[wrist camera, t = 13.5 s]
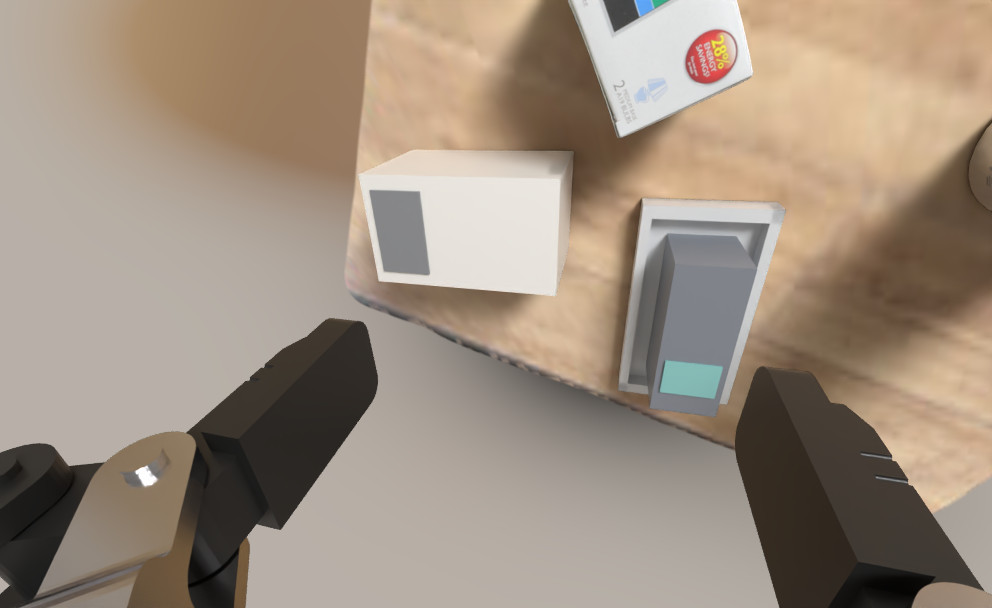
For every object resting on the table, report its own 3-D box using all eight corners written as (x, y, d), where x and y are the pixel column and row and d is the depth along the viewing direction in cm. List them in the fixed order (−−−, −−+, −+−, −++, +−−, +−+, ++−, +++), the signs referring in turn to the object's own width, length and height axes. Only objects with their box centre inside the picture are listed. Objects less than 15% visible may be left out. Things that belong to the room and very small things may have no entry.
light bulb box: (558, -40, 28) (529, -86, 19) (664, -114, 25) (689, -209, 16) (617, 119, 32) (616, 145, 23) (715, 71, 29) (759, 78, 20)
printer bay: (573, 150, 33) (559, 179, 26) (568, 247, 37) (555, 297, 30) (412, 149, 36) (357, 175, 29) (424, 238, 40) (377, 282, 33)
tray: (777, 202, 32) (785, 210, 30) (722, 390, 40) (727, 404, 39) (642, 198, 34) (643, 205, 32) (618, 377, 43) (618, 390, 41)
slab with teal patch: (736, 236, 33) (758, 270, 28) (703, 370, 39) (715, 418, 34) (667, 233, 34) (675, 265, 29) (645, 364, 40) (649, 409, 35)
